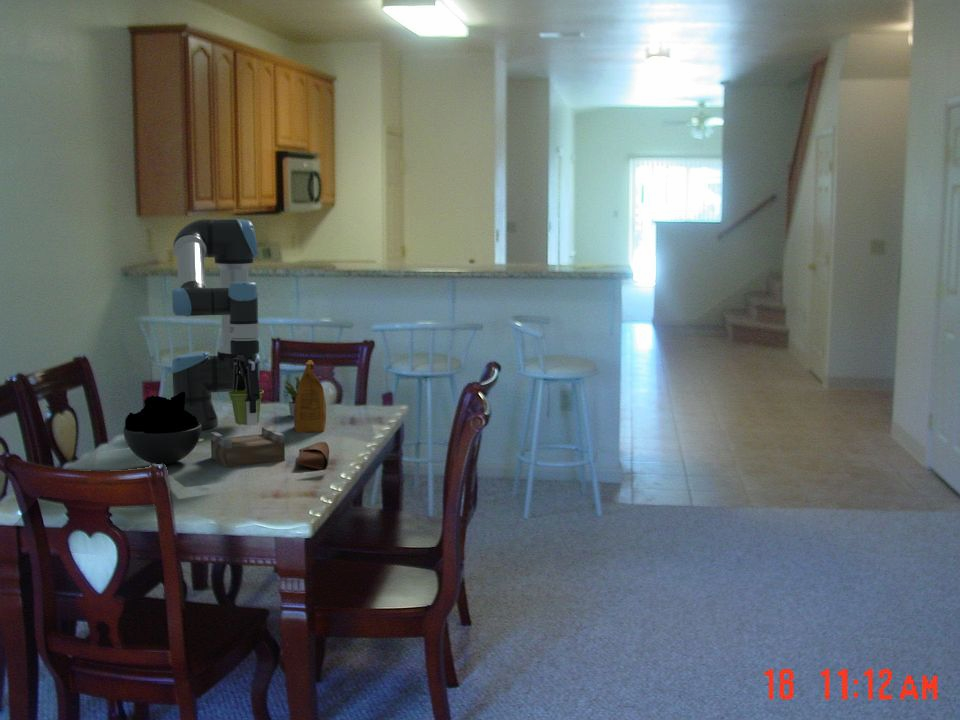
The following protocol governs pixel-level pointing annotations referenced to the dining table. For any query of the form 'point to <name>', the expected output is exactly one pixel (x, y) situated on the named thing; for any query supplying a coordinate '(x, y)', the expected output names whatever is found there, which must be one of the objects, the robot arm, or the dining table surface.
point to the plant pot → (242, 405)
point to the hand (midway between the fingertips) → (246, 422)
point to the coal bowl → (162, 430)
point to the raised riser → (248, 448)
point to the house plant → (292, 393)
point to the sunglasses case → (314, 456)
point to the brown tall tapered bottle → (310, 403)
